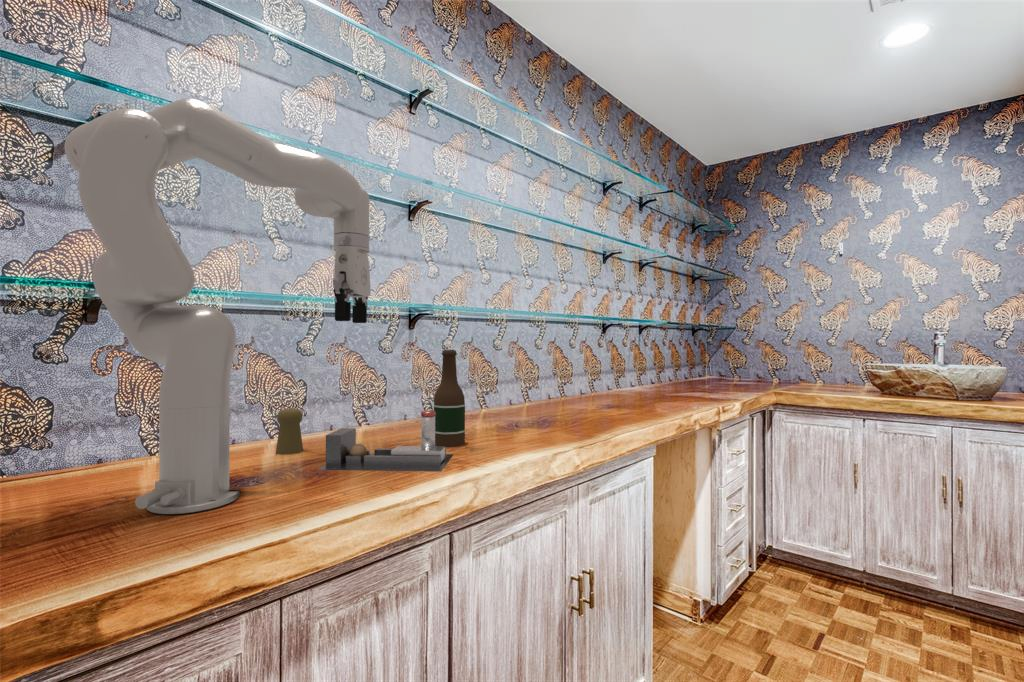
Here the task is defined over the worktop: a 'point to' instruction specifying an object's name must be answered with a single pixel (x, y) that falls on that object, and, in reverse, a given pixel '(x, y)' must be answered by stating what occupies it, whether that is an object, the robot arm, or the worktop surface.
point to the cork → (289, 432)
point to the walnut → (358, 450)
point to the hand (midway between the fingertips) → (351, 322)
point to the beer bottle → (449, 405)
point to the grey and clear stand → (423, 440)
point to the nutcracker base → (373, 457)
